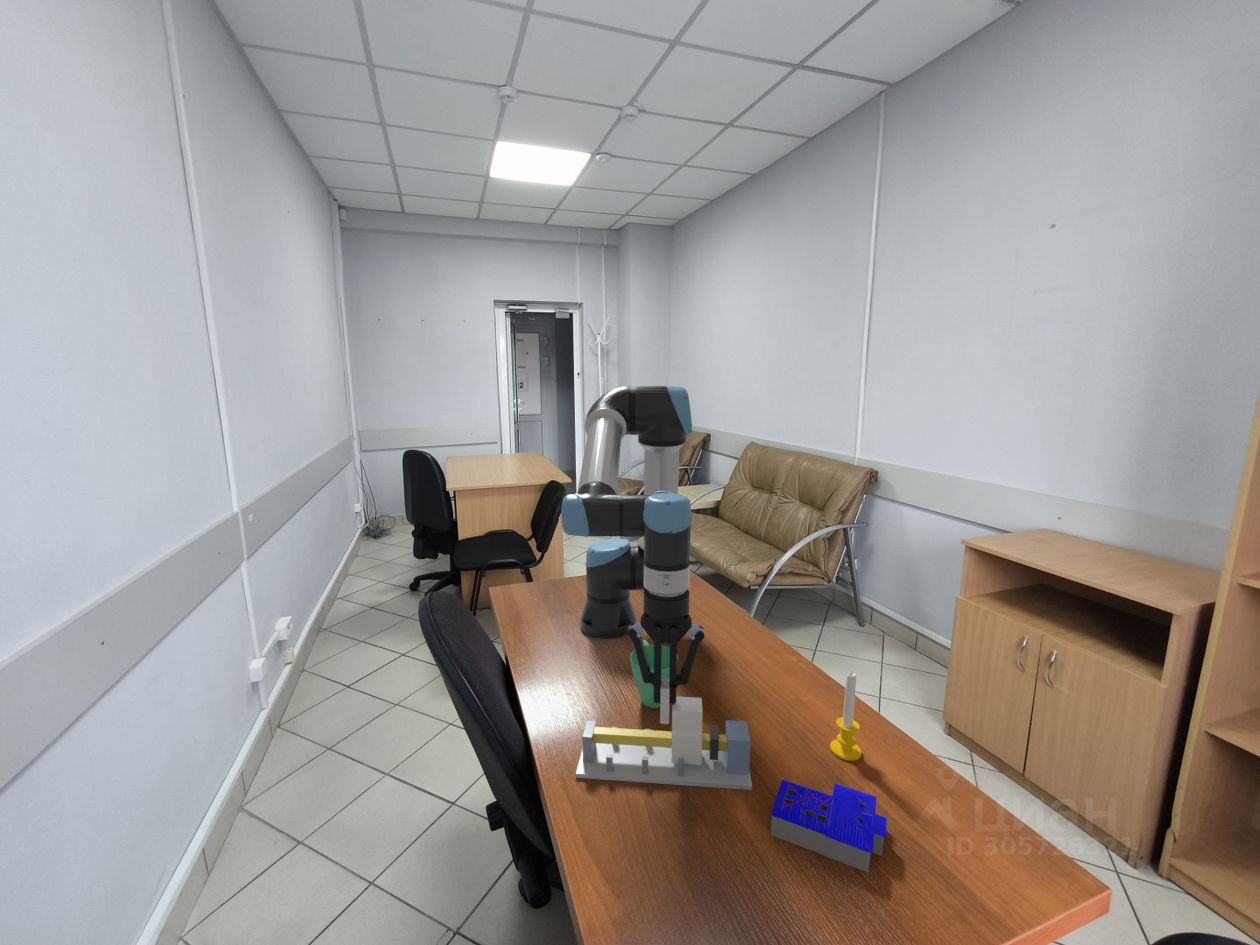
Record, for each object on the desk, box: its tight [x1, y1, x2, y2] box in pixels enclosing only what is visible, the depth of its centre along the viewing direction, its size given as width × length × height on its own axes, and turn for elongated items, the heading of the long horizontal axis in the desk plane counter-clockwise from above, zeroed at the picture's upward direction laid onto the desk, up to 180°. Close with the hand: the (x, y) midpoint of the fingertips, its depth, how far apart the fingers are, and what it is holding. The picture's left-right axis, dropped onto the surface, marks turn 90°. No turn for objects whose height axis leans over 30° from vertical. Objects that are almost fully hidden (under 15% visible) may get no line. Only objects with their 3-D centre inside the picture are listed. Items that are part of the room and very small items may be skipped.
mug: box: [629, 639, 679, 709], centre depth 111 cm, size 15×10×10 cm
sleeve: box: [671, 696, 703, 765], centre depth 91 cm, size 5×5×9 cm
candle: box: [829, 671, 863, 762], centre depth 94 cm, size 5×5×16 cm
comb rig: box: [575, 719, 753, 791], centre depth 91 cm, size 29×10×7 cm, turn 85°
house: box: [770, 779, 888, 873], centre depth 78 cm, size 11×15×5 cm
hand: (664, 718), depth 91 cm, fingers closed
